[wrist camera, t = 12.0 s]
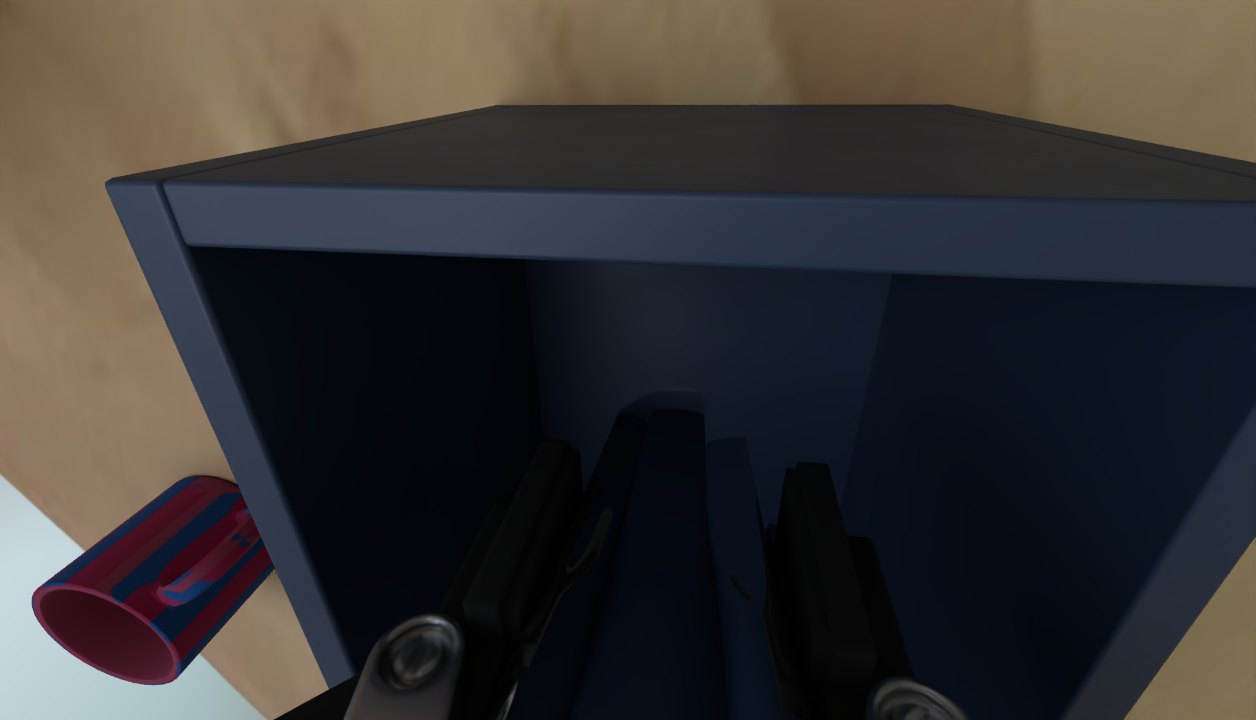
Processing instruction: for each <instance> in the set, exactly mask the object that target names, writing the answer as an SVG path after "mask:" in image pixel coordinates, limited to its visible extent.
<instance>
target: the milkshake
mask: <svg viewBox="0 0 1256 720" xmlns="http://www.w3.org/2000/svg"><path fill="white" fill-rule="evenodd" d="M481 720H814V717H813V713H812V709H811V705H810V701H809V697H808V693H807V689H806V685H805V681H804V677H803V674H802V670H801V667H800V664H799V660H798V658H797V655H796V652H795V648H794V644H793V640H792V636H791V631H790V627H789V622H788V617H787V613H786V608H785V603H784V598H783V594H782V589H781V584H780V579H779V575H778V570H777V565H776V560H775V555H774V551H773V546H772V541H771V536H770V531H769V526H768V522H767V517H766V512H765V507H764V502H763V497H762V493H761V488H760V483H759V478H758V473H757V468H756V464H755V459H754V455H753V452H752V448H751V445H750V442H749V439H748V435H747V432H746V429H745V425H744V422H743V419H742V416H741V415H740V414H739V413H737V412H736V411H734V410H733V409H731V408H730V407H728V406H727V405H725V404H724V403H722V402H721V401H720V400H718V399H717V398H715V397H714V396H712V395H711V394H710V393H708V392H707V391H705V390H698V389H678V388H660V387H657V388H655V389H654V390H652V391H650V392H648V393H647V394H645V395H643V396H642V397H640V398H638V399H636V400H635V401H633V402H631V403H629V404H627V405H626V406H624V407H622V408H621V409H620V410H619V412H618V414H617V416H616V419H615V421H614V424H613V426H612V428H611V431H610V433H609V436H608V438H607V440H606V443H605V445H604V448H603V450H602V452H601V455H600V457H599V459H598V462H597V464H596V467H595V469H594V471H593V474H592V476H591V479H590V481H589V483H588V486H587V488H586V491H585V493H584V495H583V498H582V500H581V502H580V505H579V507H578V510H577V512H576V514H575V517H574V519H573V521H572V524H571V526H570V529H569V531H568V533H567V536H566V538H565V540H564V543H563V545H562V547H561V550H560V552H559V554H558V557H557V559H556V561H555V564H554V566H553V568H552V570H551V573H550V575H549V577H548V579H547V581H546V583H545V586H544V588H543V590H542V592H541V594H540V596H539V598H538V600H537V602H536V604H535V606H534V608H533V610H532V612H531V614H530V616H529V618H528V620H527V622H526V624H525V626H524V628H523V630H522V632H521V635H520V637H519V639H518V641H517V643H516V645H515V647H514V649H513V651H512V654H511V656H510V658H509V660H508V662H507V664H506V666H505V669H504V671H503V673H502V675H501V677H500V679H499V681H498V683H497V686H496V688H495V690H494V692H493V694H492V696H491V698H490V701H489V703H488V705H487V707H486V709H485V711H484V714H483V716H482V718H481Z"/></svg>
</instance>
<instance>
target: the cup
mask: <svg viewBox="0 0 1256 720" xmlns="http://www.w3.org/2000/svg"><path fill="white" fill-rule="evenodd" d="M274 569H275V567H274V565H273V562H272V560H271V558H270V556H269V553H268V551H267V549H266V547H265V544H264V542H263V540H262V538H261V535H260V533H259V531H258V529H257V526H256V524H255V522H254V520H253V517H252V515H251V513H250V511H249V509H248V506H247V504H246V502H245V500H244V497H243V495H242V493H241V491H240V488H239V487H238V486H236V485H234V484H231V483H229V482H226V481H223V480H220V479H216V478H211V477H203V476H201V477H189V478H184V479H182V480H180V481H178V482H176V483H175V484H173V485H172V486H171V487H170V488H168V489H167V490H166V491H164V492H163V493H162V494H160V495H159V496H158V497H156V498H155V499H154V500H153V501H151V502H150V503H149V504H147V505H146V506H145V507H143V508H142V509H141V510H139V511H138V512H137V513H136V514H134V515H133V516H132V517H130V518H129V519H128V520H126V521H125V522H124V523H122V524H121V525H120V526H118V527H117V528H116V529H115V530H113V531H112V532H111V533H109V534H108V535H107V536H105V537H104V538H103V539H101V540H100V541H99V542H98V543H96V544H95V545H94V546H92V547H91V548H90V549H88V550H87V551H86V552H84V553H83V554H82V555H81V556H79V557H78V558H77V559H75V560H74V561H73V562H71V563H70V564H69V565H67V566H66V567H65V568H64V569H62V570H61V571H60V572H58V573H57V574H56V575H54V576H53V577H52V578H50V579H49V580H48V581H46V582H45V583H44V584H43V585H41V586H40V587H39V588H38V589H37V590H36V591H35V592H34V594H33V596H32V608H33V611H34V614H35V616H36V618H37V620H38V622H39V623H40V624H41V626H42V627H43V628H44V630H45V631H46V632H47V633H48V634H49V635H50V636H51V637H52V638H53V639H54V640H55V641H56V642H57V643H58V644H59V645H61V646H62V647H63V648H64V649H65V650H67V651H68V652H69V653H71V654H72V655H73V656H75V657H77V658H78V659H80V660H81V661H83V662H84V663H86V664H88V665H90V666H92V667H94V668H96V669H97V670H100V671H102V672H104V673H106V674H109V675H111V676H114V677H116V678H119V679H122V680H126V681H129V682H133V683H138V684H144V685H162V684H166V683H170V682H172V681H174V680H175V679H177V677H178V676H179V675H180V674H181V673H182V672H183V671H184V670H185V669H186V668H187V666H188V665H189V664H190V663H191V662H192V661H193V660H194V659H195V657H196V656H197V655H198V654H199V653H200V652H201V651H202V650H203V648H204V647H205V646H206V645H207V644H208V643H209V642H210V641H211V639H212V638H213V637H214V636H215V635H216V634H217V633H218V632H219V631H220V629H221V628H222V627H223V626H224V625H225V624H226V623H227V622H228V620H229V619H230V618H231V617H232V616H233V615H234V614H235V613H236V611H237V610H238V609H239V608H240V607H241V606H242V605H243V604H244V602H245V601H246V600H247V599H248V598H249V597H250V596H251V595H252V594H253V592H254V591H255V590H256V589H257V588H258V587H259V586H260V585H261V583H262V582H263V581H264V580H265V579H266V578H267V577H268V576H269V574H270V573H271V572H272V571H273V570H274Z"/></svg>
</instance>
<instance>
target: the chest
mask: <svg viewBox="0 0 1256 720" xmlns="http://www.w3.org/2000/svg"><path fill="white" fill-rule="evenodd" d="M105 188H106V190H107V192H108V194H109V197H110V199H111V201H112V203H113V206H114V208H115V210H116V212H117V215H118V217H119V219H120V221H121V224H122V226H123V228H124V230H125V233H126V235H127V237H128V239H129V242H130V244H131V246H132V248H133V251H134V253H135V255H136V257H137V260H138V262H139V264H140V266H141V268H142V271H143V273H144V275H145V277H146V280H147V282H148V284H149V286H150V289H151V291H152V293H153V295H154V298H155V300H156V302H157V304H158V307H159V309H160V311H161V313H162V316H163V318H164V320H165V322H166V325H167V327H168V329H169V331H170V334H171V336H172V338H173V340H174V343H175V345H176V347H177V349H178V351H179V354H180V356H181V358H182V360H183V363H184V365H185V367H186V369H187V372H188V374H189V376H190V378H191V381H192V383H193V385H194V387H195V390H196V392H197V394H198V396H199V399H200V401H201V403H202V405H203V408H204V410H205V412H206V414H207V417H208V419H209V421H210V423H211V426H212V428H213V430H214V432H215V434H216V437H217V439H218V441H219V443H220V446H221V448H222V450H223V452H224V455H225V457H226V459H227V461H228V464H229V466H230V468H231V470H232V473H233V475H234V477H235V479H236V482H237V484H238V486H239V488H240V491H241V493H242V495H243V497H244V500H245V502H246V504H247V506H248V509H249V511H250V513H251V515H252V517H253V520H254V522H255V524H256V526H257V529H258V531H259V533H260V535H261V538H262V540H263V542H264V544H265V547H266V549H267V551H268V553H269V556H270V558H271V560H272V562H273V565H274V567H275V569H276V571H277V574H278V576H279V578H280V580H281V583H282V585H283V587H284V589H285V592H286V594H287V596H288V598H289V600H290V603H291V605H292V607H293V609H294V612H295V614H296V616H297V618H298V621H299V623H300V625H301V627H302V630H303V632H304V634H305V636H306V639H307V641H308V643H309V645H310V648H311V650H312V652H313V654H314V657H315V659H316V661H317V663H318V666H319V668H320V670H321V672H322V675H323V677H324V679H325V681H326V684H327V686H328V688H329V689H331V688H333V687H334V686H336V685H338V684H340V683H342V682H344V681H345V680H347V679H349V678H351V677H353V676H355V675H356V674H358V673H360V672H362V671H363V669H364V667H365V664H366V662H367V659H368V657H369V654H370V652H371V651H372V649H373V647H374V645H375V644H376V642H377V640H378V639H379V638H380V637H381V636H382V635H383V634H384V633H385V632H386V631H387V630H388V629H389V628H390V627H392V626H393V625H395V624H396V623H398V622H399V621H400V620H402V619H405V618H407V617H410V616H412V615H414V614H419V613H425V612H437V611H438V609H439V607H440V605H441V603H442V601H443V599H444V597H445V595H446V594H447V592H448V590H449V588H450V586H451V584H452V582H453V580H454V578H455V576H456V575H457V573H458V571H459V569H460V567H461V565H462V563H463V561H464V559H465V557H466V556H467V554H468V552H469V550H470V548H471V546H472V544H473V542H474V540H475V538H476V537H477V535H478V533H479V531H480V529H481V527H482V525H483V523H484V521H485V519H486V518H487V516H488V514H489V512H490V510H491V508H492V506H493V505H494V503H495V502H496V501H498V500H499V499H501V500H511V501H513V499H514V496H515V494H516V492H517V490H518V488H519V486H520V484H521V482H522V480H523V478H524V476H525V474H526V472H527V470H528V468H529V466H530V464H531V462H532V460H533V457H534V455H535V453H536V451H537V449H538V447H539V445H540V443H541V442H542V440H544V439H547V440H559V441H569V442H571V445H572V449H579V450H580V455H581V471H582V486H583V495H584V493H585V491H586V488H587V486H588V483H589V481H590V479H591V476H592V474H593V471H594V469H595V467H596V464H597V462H598V459H599V457H600V455H601V452H602V450H603V448H604V445H605V443H606V440H607V438H608V436H609V433H610V431H611V428H612V426H613V424H614V421H615V419H616V416H617V414H618V412H619V410H620V409H621V408H622V407H624V406H626V405H627V404H629V403H631V402H633V401H635V400H636V399H638V398H640V397H642V396H643V395H645V394H647V393H648V392H650V391H652V390H654V389H655V388H657V387H660V388H678V389H698V390H705V391H707V392H708V393H710V394H711V395H712V396H714V397H715V398H717V399H718V400H720V401H721V402H722V403H724V404H725V405H727V406H728V407H730V408H731V409H733V410H734V411H736V412H737V413H739V414H740V415H741V416H742V419H743V422H744V425H745V429H746V432H747V435H748V439H749V442H750V445H751V448H752V452H753V455H754V459H755V464H756V468H757V473H758V478H759V483H760V488H761V493H762V497H763V502H764V507H765V512H766V517H767V522H768V526H769V531H770V536H771V541H772V546H774V540H775V533H776V527H777V521H778V514H779V508H780V502H781V495H782V489H783V482H784V476H785V471H786V468H796V464H797V462H798V461H801V462H813V463H824V464H828V465H829V468H830V472H831V476H832V480H833V484H834V488H835V492H836V496H837V500H838V503H839V507H840V511H841V515H842V519H843V523H844V527H845V531H846V535H848V536H857V537H867V538H870V539H871V540H872V542H873V544H874V547H875V550H876V553H877V556H878V559H879V563H880V566H881V569H882V572H883V576H884V579H885V582H886V586H887V589H888V592H889V595H890V599H891V602H892V605H893V608H894V612H895V615H896V618H897V622H898V625H899V628H900V631H901V635H902V638H903V641H904V644H905V648H906V651H907V654H908V658H909V661H910V664H911V667H912V671H913V674H914V677H915V678H919V679H921V680H923V681H926V682H928V683H930V684H933V685H935V686H936V687H938V688H939V689H941V690H942V691H944V692H945V693H947V694H948V695H950V696H951V697H952V698H953V699H954V700H955V701H956V702H957V703H958V704H959V705H960V706H961V707H962V708H963V709H964V710H965V711H966V712H967V714H968V715H969V717H970V718H971V720H1124V718H1125V717H1126V716H1127V714H1128V713H1129V711H1130V710H1131V709H1132V707H1133V706H1134V704H1135V703H1136V702H1137V700H1138V699H1139V698H1140V696H1141V695H1142V693H1143V692H1144V691H1145V689H1146V688H1147V686H1148V685H1149V684H1150V682H1151V681H1152V680H1153V678H1154V677H1155V675H1156V674H1157V673H1158V671H1159V670H1160V668H1161V667H1162V666H1163V664H1164V663H1165V661H1166V660H1167V659H1168V657H1169V656H1170V655H1171V653H1172V652H1173V650H1174V649H1175V648H1176V646H1177V645H1178V643H1179V642H1180V641H1181V639H1182V638H1183V637H1184V635H1185V634H1186V632H1187V631H1188V630H1189V628H1190V627H1191V625H1192V624H1193V623H1194V621H1195V620H1196V618H1197V617H1198V616H1199V614H1200V613H1201V612H1202V610H1203V609H1204V607H1205V606H1206V605H1207V603H1208V602H1209V600H1210V599H1211V598H1212V596H1213V595H1214V594H1215V592H1216V591H1217V589H1218V588H1219V587H1220V585H1221V584H1222V582H1223V581H1224V580H1225V578H1226V577H1227V575H1228V574H1229V573H1230V571H1231V570H1232V569H1233V567H1234V566H1235V564H1236V563H1237V562H1238V560H1239V559H1240V557H1241V556H1242V555H1243V553H1244V552H1245V551H1246V549H1247V548H1248V546H1249V545H1250V544H1251V542H1252V541H1253V539H1254V538H1255V537H1256V163H1253V162H1248V161H1243V160H1238V159H1232V158H1227V157H1222V156H1217V155H1211V154H1206V153H1201V152H1196V151H1190V150H1185V149H1180V148H1175V147H1169V146H1164V145H1159V144H1154V143H1148V142H1143V141H1138V140H1133V139H1127V138H1122V137H1117V136H1112V135H1107V134H1101V133H1096V132H1091V131H1086V130H1080V129H1075V128H1070V127H1065V126H1059V125H1054V124H1049V123H1044V122H1038V121H1033V120H1028V119H1023V118H1017V117H1012V116H1007V115H1002V114H996V113H991V112H986V111H981V110H975V109H970V108H965V107H958V106H954V105H495V106H490V107H485V108H480V109H475V110H469V111H464V112H459V113H454V114H448V115H443V116H438V117H432V118H427V119H422V120H417V121H411V122H406V123H401V124H395V125H390V126H385V127H379V128H374V129H369V130H364V131H358V132H353V133H348V134H342V135H337V136H332V137H327V138H321V139H316V140H311V141H305V142H300V143H295V144H289V145H284V146H279V147H274V148H268V149H263V150H258V151H252V152H247V153H242V154H237V155H231V156H226V157H221V158H215V159H210V160H205V161H199V162H194V163H189V164H184V165H178V166H173V167H168V168H162V169H157V170H152V171H147V172H141V173H136V174H131V175H125V176H120V177H115V178H112V179H110V180H108V181H107V182H105Z"/></svg>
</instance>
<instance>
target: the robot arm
mask: <svg viewBox="0 0 1256 720" xmlns="http://www.w3.org/2000/svg"><path fill="white" fill-rule="evenodd" d="M582 498H583V486H582V471H581V455H580V450H579V449H572V445H571V442H569V441H559V440H547V439H544V440H542V442H541V443H540V445H539V447H538V449H537V451H536V453H535V455H534V457H533V460H532V462H531V464H530V466H529V468H528V470H527V472H526V474H525V476H524V478H523V480H522V482H521V484H520V486H519V488H518V490H517V492H516V494H515V496H514V499H513V501H511V500H501V499H499V500H498V501H496V502H495V503H494V505H493V506H492V508H491V510H490V512H489V514H488V516H487V518H486V519H485V521H484V523H483V525H482V527H481V529H480V531H479V533H478V535H477V537H476V538H475V540H474V542H473V544H472V546H471V548H470V550H469V552H468V554H467V556H466V557H465V559H464V561H463V563H462V565H461V567H460V569H459V571H458V573H457V575H456V576H455V578H454V580H453V582H452V584H451V586H450V588H449V590H448V592H447V594H446V595H445V597H444V599H443V601H442V603H441V605H440V607H439V609H438V611H437V612H425V613H419V614H414V615H412V616H410V617H407V618H405V619H402V620H400V621H399V622H398V623H396V624H395V625H393V626H392V627H390V628H389V629H388V630H387V631H386V632H385V633H384V634H383V635H382V636H381V637H380V638H379V639H378V640H377V642H376V644H375V645H374V647H373V649H372V651H371V652H370V654H369V657H368V659H367V662H366V664H365V667H364V669H363V671H362V672H360V673H358V674H356V675H355V676H353V677H351V678H349V679H347V680H345V681H344V682H342V683H340V684H338V685H336V686H334V687H333V688H331V689H329V690H327V691H325V692H324V693H322V694H320V695H318V696H316V697H314V698H313V699H311V700H309V701H307V702H305V703H303V704H302V705H300V706H298V707H296V708H294V709H292V710H291V711H289V712H287V713H285V714H283V715H281V716H280V717H278V718H276V719H274V720H481V718H482V716H483V714H484V711H485V709H486V707H487V705H488V703H489V701H490V698H491V696H492V694H493V692H494V690H495V688H496V686H497V683H498V681H499V679H500V677H501V675H502V673H503V671H504V669H505V666H506V664H507V662H508V660H509V658H510V656H511V654H512V651H513V649H514V647H515V645H516V643H517V641H518V639H519V637H520V635H521V632H522V630H523V628H524V626H525V624H526V622H527V620H528V618H529V616H530V614H531V612H532V610H533V608H534V606H535V604H536V602H537V600H538V598H539V596H540V594H541V592H542V590H543V588H544V586H545V583H546V581H547V579H548V577H549V575H550V573H551V570H552V568H553V566H554V564H555V561H556V559H557V557H558V554H559V552H560V550H561V547H562V545H563V543H564V540H565V538H566V536H567V533H568V531H569V529H570V526H571V524H572V521H573V519H574V517H575V514H576V512H577V510H578V507H579V505H580V502H581V500H582ZM773 551H774V555H775V560H776V565H777V570H778V575H779V579H780V584H781V589H782V594H783V598H784V603H785V608H786V613H787V617H788V622H789V627H790V631H791V636H792V640H793V644H794V648H795V652H796V655H797V658H798V660H799V664H800V667H801V670H802V674H803V677H804V681H805V685H806V689H807V693H808V697H809V701H810V705H811V709H812V713H813V717H814V720H971V718H970V717H969V715H968V714H967V712H966V711H965V710H964V709H963V708H962V707H961V706H960V705H959V704H958V703H957V702H956V701H955V700H954V699H953V698H952V697H951V696H950V695H948V694H947V693H945V692H944V691H942V690H941V689H939V688H938V687H936V686H935V685H933V684H930V683H928V682H926V681H923V680H921V679H919V678H915V677H914V674H913V671H912V667H911V664H910V661H909V658H908V654H907V651H906V648H905V644H904V641H903V638H902V635H901V631H900V628H899V625H898V622H897V618H896V615H895V612H894V608H893V605H892V602H891V599H890V595H889V592H888V589H887V586H886V582H885V579H884V576H883V572H882V569H881V566H880V563H879V559H878V556H877V553H876V550H875V547H874V544H873V542H872V540H871V539H870V538H867V537H857V536H848V535H846V531H845V527H844V523H843V519H842V515H841V511H840V507H839V503H838V500H837V496H836V492H835V488H834V484H833V480H832V476H831V472H830V468H829V465H828V464H824V463H813V462H801V461H798V462H797V464H796V468H786V471H785V476H784V482H783V489H782V495H781V502H780V508H779V514H778V521H777V527H776V533H775V540H774V546H773Z"/></svg>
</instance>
